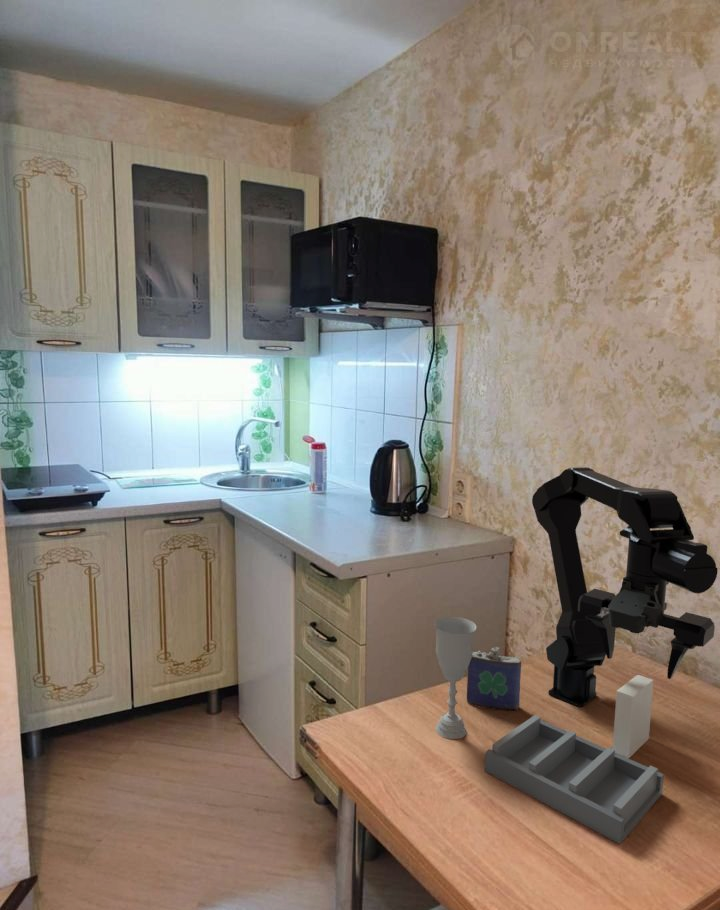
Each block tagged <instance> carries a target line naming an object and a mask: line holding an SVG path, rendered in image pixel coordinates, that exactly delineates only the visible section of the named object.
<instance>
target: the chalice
mask: <svg viewBox="0 0 720 910" xmlns="http://www.w3.org/2000/svg"><path fill="white" fill-rule="evenodd" d="M433 625H434V628H435V630H436V637H435V638H436V639H435V640H436V641H435V646H436V647H435V653H436V654H435V655H436V657H437V662H438V665H439V667H440V670H441V672H442V674H443V676H444V678H445V680H447V681H449V686H448V687H449V688H448V689H447V693H448V694H449V698H448V699H447V701H446V703H447V705H448V711H447V712H445V713H443V714H442V715H441V716H440V718H439V720H438V722H437V725H436V726H435V732H436V733H437V734H438V735H439V736H441V737H442V738H445V739H450V740H459V739H462V738H464V737H465V736H466V734H467V729H466V727H465V724H464V721H463V718H462V717H461V716H460V715H459V714H457V713H456V712H455V708H456V705H457V704H458V701H457V699H456V696H457V693H458V690H457V687H456V683H457V682H460V681H461V680H462V678H463V677H464V675H465V674H466V672H467V671H468V666H469V663H470V661H471V658H472V652H474V651H473V646H474V634H475V632H476V631H477V624H476V623H475V622H474V621H472V620H470V619H467V618H464V617H460V616H442V617H438V618H436V619H435V620H434V622H433Z"/></svg>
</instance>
